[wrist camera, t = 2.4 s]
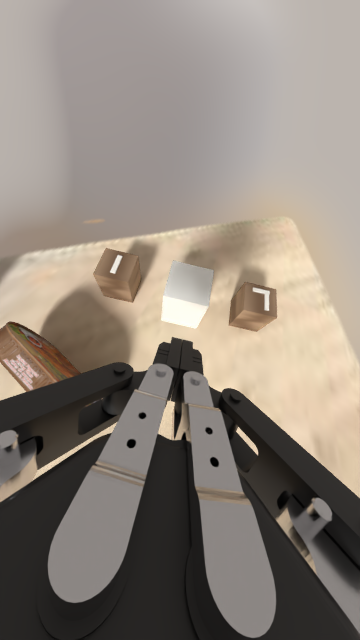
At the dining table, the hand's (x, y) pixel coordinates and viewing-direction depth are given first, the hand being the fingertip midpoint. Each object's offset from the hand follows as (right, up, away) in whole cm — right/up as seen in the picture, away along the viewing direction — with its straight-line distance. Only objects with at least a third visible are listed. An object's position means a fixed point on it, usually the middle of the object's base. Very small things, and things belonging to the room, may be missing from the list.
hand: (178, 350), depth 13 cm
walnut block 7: (+12, +3, +20) cm, 23 cm away
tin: (-16, -6, +13) cm, 21 cm away
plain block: (+1, +4, +19) cm, 19 cm away
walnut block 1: (-10, +8, +19) cm, 23 cm away
